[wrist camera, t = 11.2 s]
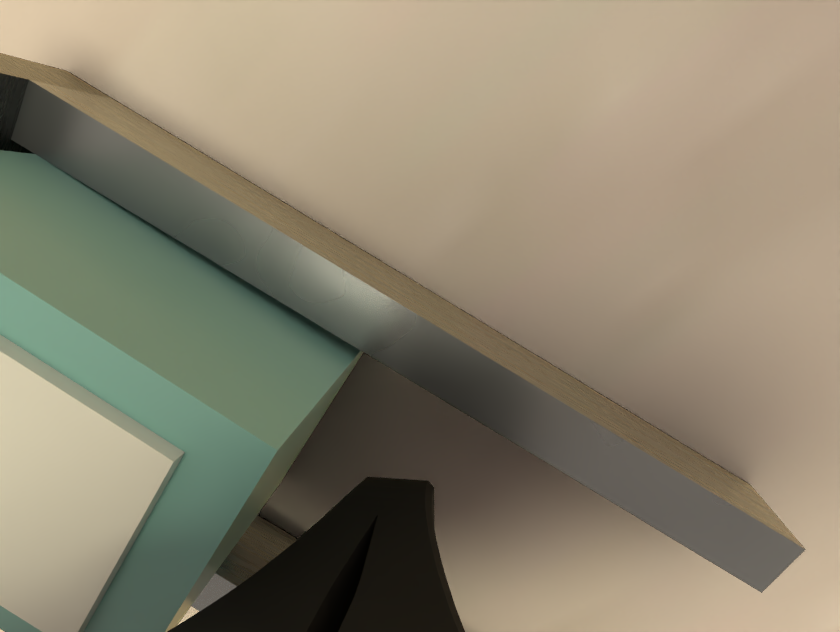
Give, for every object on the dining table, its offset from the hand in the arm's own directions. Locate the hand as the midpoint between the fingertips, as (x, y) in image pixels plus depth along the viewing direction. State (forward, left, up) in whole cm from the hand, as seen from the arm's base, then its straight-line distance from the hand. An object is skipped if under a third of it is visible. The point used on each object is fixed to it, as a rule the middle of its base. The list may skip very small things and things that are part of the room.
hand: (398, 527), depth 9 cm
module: (+5, -1, -1) cm, 5 cm away
